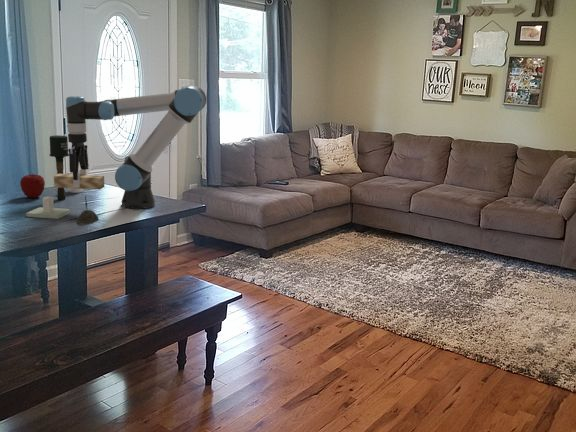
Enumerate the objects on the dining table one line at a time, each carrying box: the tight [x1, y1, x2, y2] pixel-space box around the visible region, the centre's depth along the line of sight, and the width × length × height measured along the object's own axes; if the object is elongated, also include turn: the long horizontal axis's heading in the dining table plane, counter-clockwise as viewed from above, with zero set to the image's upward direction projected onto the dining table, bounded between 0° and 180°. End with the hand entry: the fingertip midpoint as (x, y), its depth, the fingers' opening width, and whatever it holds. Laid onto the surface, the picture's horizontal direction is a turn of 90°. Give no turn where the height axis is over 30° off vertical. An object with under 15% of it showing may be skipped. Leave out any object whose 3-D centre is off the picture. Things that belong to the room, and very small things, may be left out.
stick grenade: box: [49, 135, 69, 201], centre depth 278 cm, size 8×9×30 cm
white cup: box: [66, 170, 84, 194], centre depth 299 cm, size 8×8×10 cm
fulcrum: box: [25, 195, 71, 220], centre depth 253 cm, size 14×11×8 cm
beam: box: [53, 173, 105, 190], centre depth 261 cm, size 20×6×5 cm, turn 89°
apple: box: [19, 173, 45, 199], centre depth 282 cm, size 11×11×12 cm
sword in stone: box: [77, 195, 99, 225], centre depth 246 cm, size 10×8×12 cm
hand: (80, 185), depth 261 cm, fingers closed on beam, 6 cm apart
